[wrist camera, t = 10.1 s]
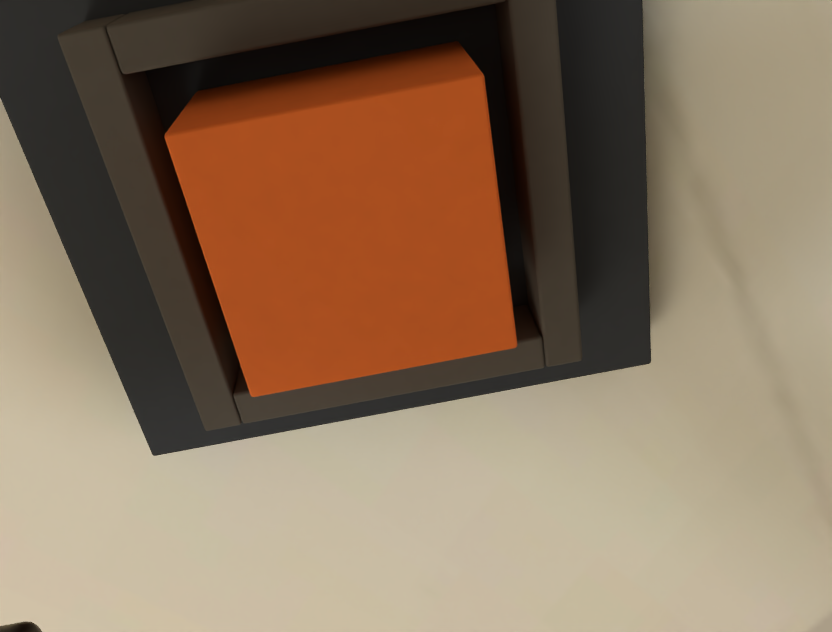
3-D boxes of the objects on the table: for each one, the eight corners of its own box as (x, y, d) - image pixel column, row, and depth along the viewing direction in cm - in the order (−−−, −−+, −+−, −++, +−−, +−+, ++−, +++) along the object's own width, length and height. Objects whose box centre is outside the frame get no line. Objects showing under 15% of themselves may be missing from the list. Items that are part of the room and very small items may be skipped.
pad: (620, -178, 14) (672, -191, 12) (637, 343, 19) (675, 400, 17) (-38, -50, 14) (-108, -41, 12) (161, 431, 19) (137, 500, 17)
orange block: (459, 40, 14) (484, 72, 12) (491, 277, 17) (518, 348, 14) (195, 90, 14) (162, 134, 12) (264, 320, 17) (250, 399, 14)
